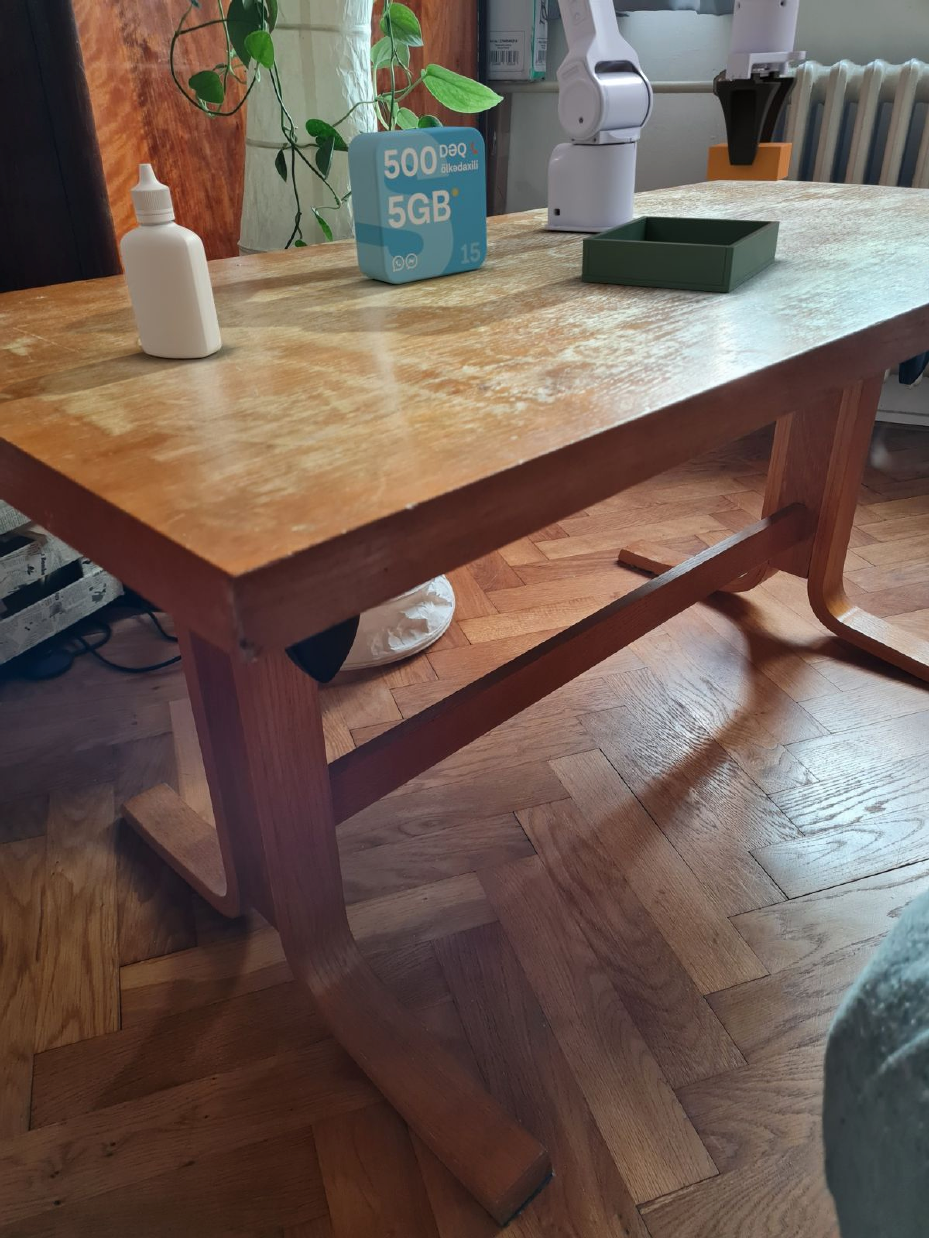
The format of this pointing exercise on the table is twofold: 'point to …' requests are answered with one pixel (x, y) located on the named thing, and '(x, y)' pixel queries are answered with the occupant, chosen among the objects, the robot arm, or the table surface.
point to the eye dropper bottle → (168, 277)
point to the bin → (680, 253)
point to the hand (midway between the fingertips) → (748, 162)
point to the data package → (418, 202)
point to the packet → (765, 167)
